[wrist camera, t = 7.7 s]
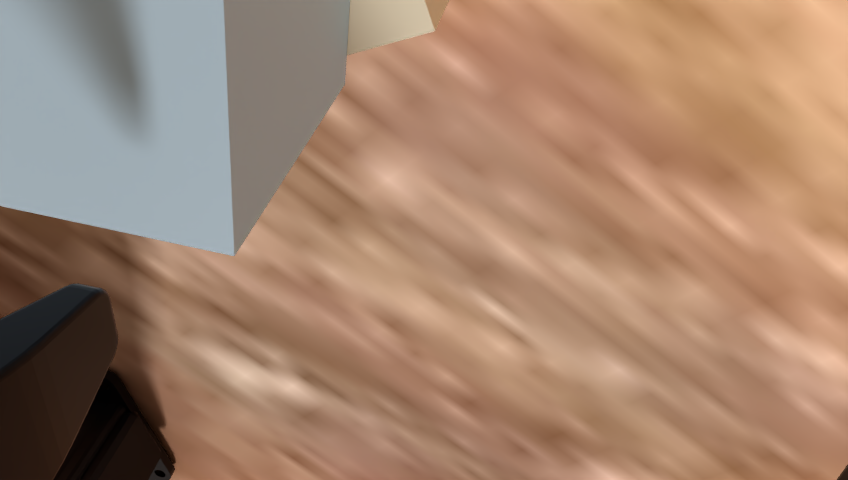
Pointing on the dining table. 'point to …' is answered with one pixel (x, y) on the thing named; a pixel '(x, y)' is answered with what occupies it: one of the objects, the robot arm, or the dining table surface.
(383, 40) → the birch block
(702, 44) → the dining table surface
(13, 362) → the robot arm
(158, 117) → the blue cube
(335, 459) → the dining table surface
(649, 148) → the dining table surface
